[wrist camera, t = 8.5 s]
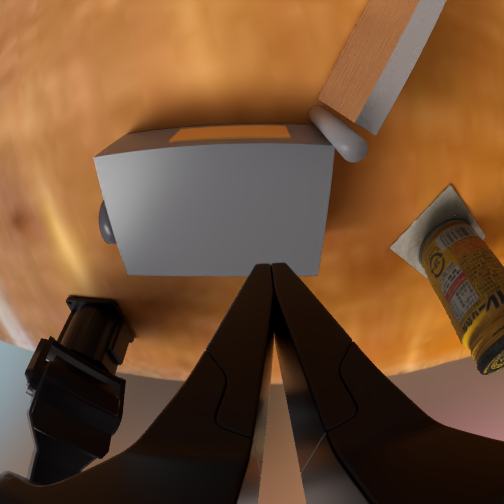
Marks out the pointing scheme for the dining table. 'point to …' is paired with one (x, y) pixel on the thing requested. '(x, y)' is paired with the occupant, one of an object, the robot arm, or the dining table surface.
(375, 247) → the dining table surface
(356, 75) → the side door
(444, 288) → the condiment
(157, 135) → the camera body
